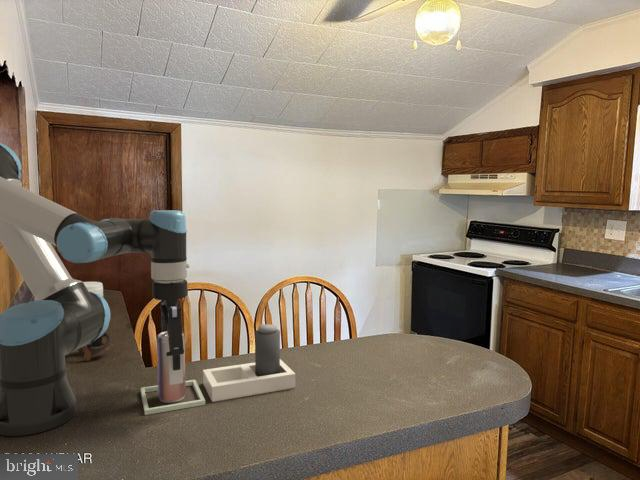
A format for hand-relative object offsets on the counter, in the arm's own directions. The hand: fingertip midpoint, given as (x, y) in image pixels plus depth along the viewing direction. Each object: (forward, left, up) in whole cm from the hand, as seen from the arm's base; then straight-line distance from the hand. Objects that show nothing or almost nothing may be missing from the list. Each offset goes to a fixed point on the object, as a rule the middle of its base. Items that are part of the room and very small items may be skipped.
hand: (172, 372), depth 107 cm
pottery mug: (-17, +38, -6) cm, 42 cm away
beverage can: (0, 0, -6) cm, 6 cm away
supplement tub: (-19, +71, -6) cm, 74 cm away
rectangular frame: (0, 0, -6) cm, 6 cm away
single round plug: (+23, 0, -6) cm, 23 cm away
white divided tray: (+18, 0, -6) cm, 19 cm away
